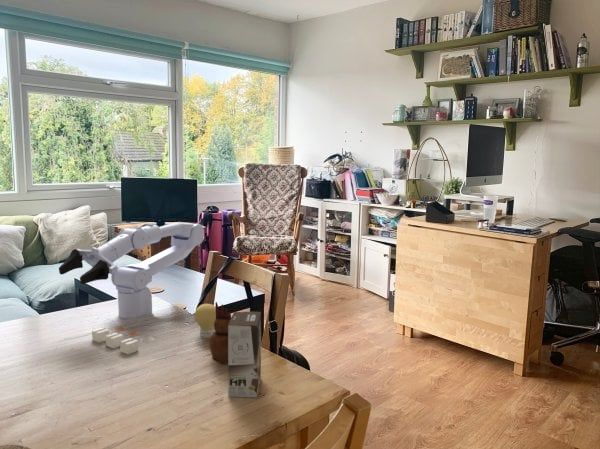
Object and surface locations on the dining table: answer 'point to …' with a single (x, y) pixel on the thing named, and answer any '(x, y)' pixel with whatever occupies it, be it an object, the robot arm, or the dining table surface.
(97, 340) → the slider
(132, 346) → the slider
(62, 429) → the dining table surface
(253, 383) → the coffee box
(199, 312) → the light bulb
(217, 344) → the wooden figurine
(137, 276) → the robot arm
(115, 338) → the slider middle
